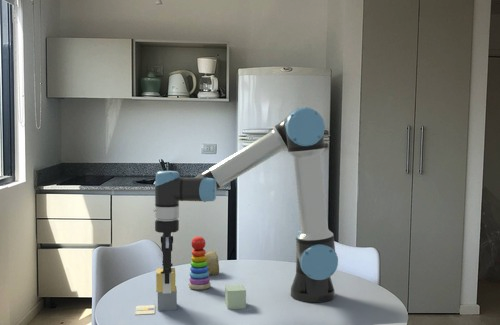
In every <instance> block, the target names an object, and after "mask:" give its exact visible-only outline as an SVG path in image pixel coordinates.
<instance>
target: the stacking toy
mask: <svg viewBox="0 0 500 325" xmlns="http://www.w3.org/2000/svg"><path fill="white" fill-rule="evenodd" d="M190 244H191V246H192V251H191V255H192V256H191V262H190V265H191V266H190V269H189V270H190V272H189V279H188V280H189V283H188V286H189V288H190V289H191V290H196V291H201V290H207V289H209V288H210V287H211V282H210V281H211V278H210V275H209V272H208V266H207V261H206V259H207V257H206V256H205V253H207V252H206V250H205V249H204V248H206V247H205V246H206V240H205V238H204V237H202V236H195V237H193V238H192V240H191V243H190Z"/></svg>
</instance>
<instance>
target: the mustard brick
mask: <svg viewBox="0 0 500 325" xmlns="http://www.w3.org/2000/svg"><path fill="white" fill-rule="evenodd" d="M155 270H156V273H155V278H156V279H155V280H156V281H155V284H156V288H155V290H156V291H155V292H156V293H158V292H163V274H161V272H163V268H156V269H155ZM171 270H172V272H171V292H172V291H175V286H176V268H175V267H171Z"/></svg>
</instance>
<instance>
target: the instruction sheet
mask: <svg viewBox="0 0 500 325" xmlns="http://www.w3.org/2000/svg"><path fill="white" fill-rule="evenodd" d="M155 313H156V305H155V304H151V305H147V304H146V305H136V306H135V312H134V315H135V316H137V315H138V316H139V315H140V316H142V315H144V316H145V315H155Z"/></svg>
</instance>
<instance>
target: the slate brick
mask: <svg viewBox="0 0 500 325" xmlns="http://www.w3.org/2000/svg"><path fill="white" fill-rule="evenodd" d="M177 290H178V289H177V285H175V291H172V292H171V293H165V294H163V292H157V311H158V310H160V311H175V310H176V311H177V309H178V308H177V306H178V304H177V303H178V302H177V300H178V298H177V297H178V296H177V294H178V291H177Z"/></svg>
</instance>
